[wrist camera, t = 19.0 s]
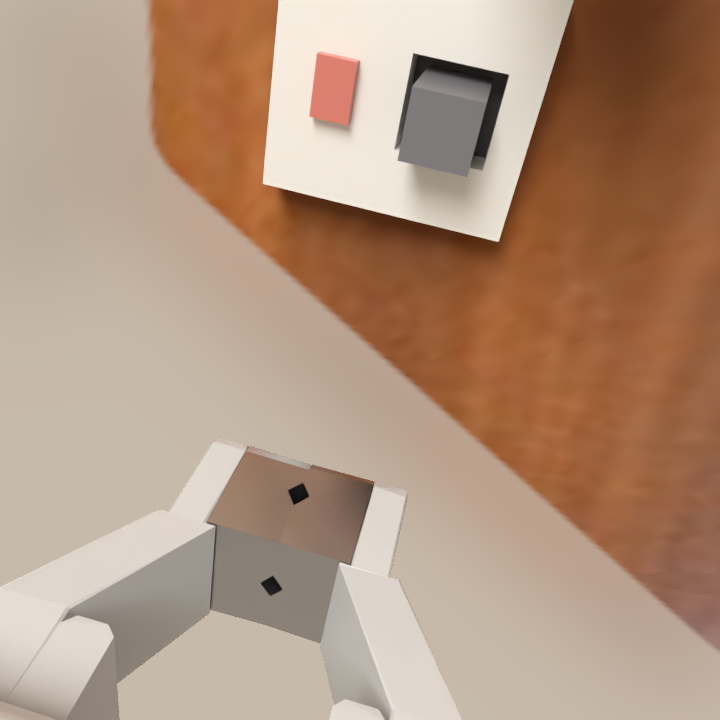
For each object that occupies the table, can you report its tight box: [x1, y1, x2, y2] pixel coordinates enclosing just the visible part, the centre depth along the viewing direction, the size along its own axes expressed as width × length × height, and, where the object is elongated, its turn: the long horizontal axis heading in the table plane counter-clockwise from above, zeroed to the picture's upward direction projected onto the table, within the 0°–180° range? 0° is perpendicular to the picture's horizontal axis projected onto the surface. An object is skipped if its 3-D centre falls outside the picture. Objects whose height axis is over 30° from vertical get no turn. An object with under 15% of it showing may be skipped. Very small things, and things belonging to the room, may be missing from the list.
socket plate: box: [263, 0, 574, 242], centre depth 41 cm, size 16×14×4 cm
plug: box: [397, 65, 493, 177], centre depth 39 cm, size 4×4×7 cm
